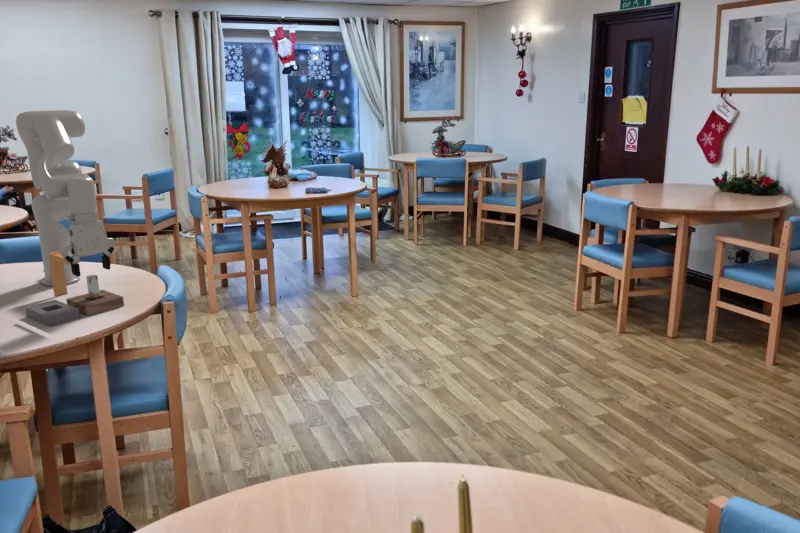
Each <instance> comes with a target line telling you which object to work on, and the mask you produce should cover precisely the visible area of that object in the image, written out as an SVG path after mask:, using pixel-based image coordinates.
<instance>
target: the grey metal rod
mask: <svg viewBox="0 0 800 533" xmlns="http://www.w3.org/2000/svg"><path fill="white" fill-rule="evenodd" d="M85 278H86V285H87V291H88V292H87V294H88V293H89V300H90V301H94V300H98V299H101V298H100V291H99V290H100V285H99V277H98V275H96V274H90V275H87V276H86V277H85Z"/></svg>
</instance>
